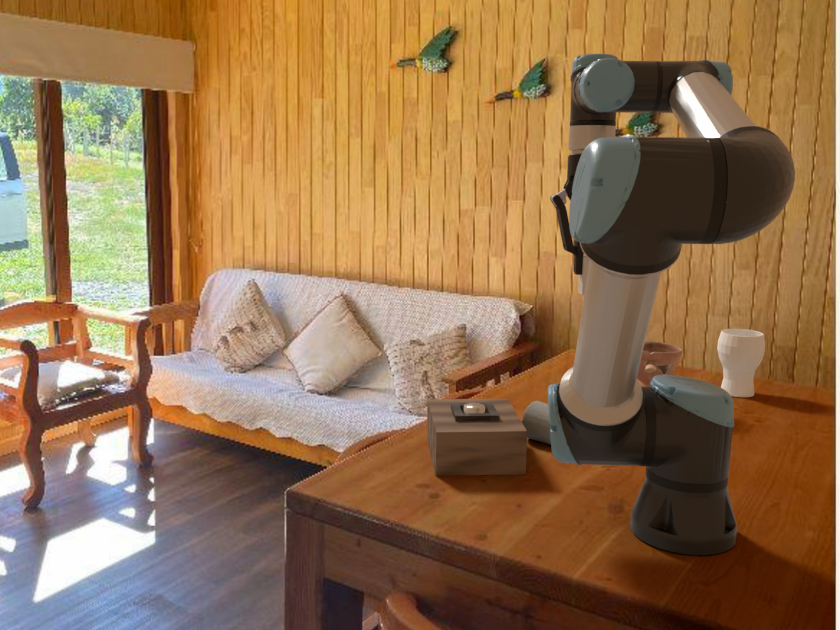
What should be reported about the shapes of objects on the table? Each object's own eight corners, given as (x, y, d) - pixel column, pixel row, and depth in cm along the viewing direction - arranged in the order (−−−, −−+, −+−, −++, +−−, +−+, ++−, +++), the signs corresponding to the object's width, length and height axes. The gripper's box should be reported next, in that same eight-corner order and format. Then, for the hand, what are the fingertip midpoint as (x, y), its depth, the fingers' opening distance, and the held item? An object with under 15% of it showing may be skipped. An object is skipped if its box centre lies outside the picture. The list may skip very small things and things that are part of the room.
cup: (708, 386, 203) (712, 327, 201) (751, 387, 203) (756, 328, 200) (721, 399, 193) (727, 336, 190) (767, 400, 193) (773, 337, 190)
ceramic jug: (681, 421, 176) (687, 356, 174) (612, 412, 181) (617, 350, 178) (683, 400, 193) (688, 341, 190) (620, 393, 197) (624, 335, 195)
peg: (485, 453, 152) (486, 409, 151) (464, 453, 152) (465, 409, 150) (482, 445, 156) (483, 402, 154) (461, 446, 156) (462, 403, 154)
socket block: (525, 474, 145) (527, 425, 143) (435, 475, 144) (436, 426, 142) (506, 437, 164) (507, 393, 163) (426, 438, 163) (427, 394, 162)
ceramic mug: (554, 451, 157) (557, 413, 155) (519, 441, 162) (521, 404, 161) (584, 439, 164) (586, 402, 163) (549, 430, 170) (551, 394, 168)
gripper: (622, 153, 139) (615, 290, 144) (547, 152, 138) (541, 290, 143) (637, 153, 132) (628, 297, 136) (557, 152, 131) (551, 297, 135)
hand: (584, 293), depth 140 cm, fingers closed
